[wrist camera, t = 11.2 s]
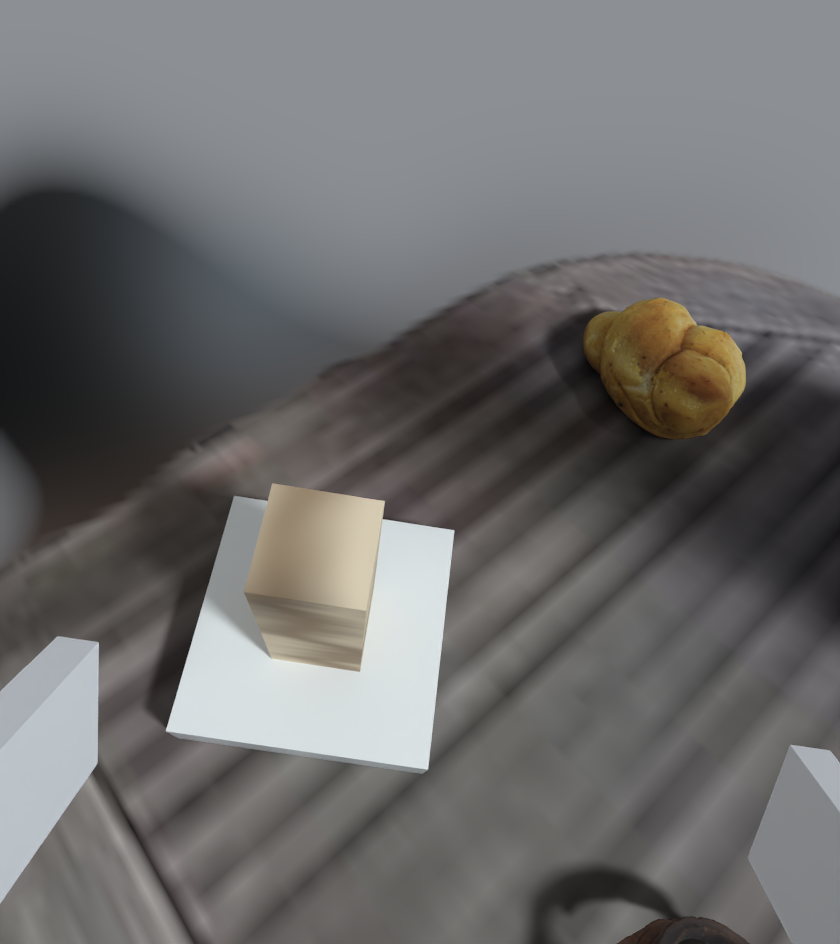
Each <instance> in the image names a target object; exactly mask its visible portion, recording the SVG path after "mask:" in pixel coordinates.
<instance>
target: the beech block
mask: <svg viewBox="0 0 840 944" xmlns="http://www.w3.org/2000/svg"><path fill="white" fill-rule="evenodd" d="M384 504H385V501H380V500H374V499H368V498H361V497H355V496H349V495H342V494H336V493H330V492H323V491H317V490H311V489H304V488H298V487H292V486H286V485H279V484H273V483H272V487H271V491H270V494H269V498H268V502H267V506H266V510H265V513H264V517H263V521H262V525H261V529H260V532H259V536H258V540H257V544H256V548H255V551H254V555H253V559H252V563H251V567H250V570H249V574H248V578H247V582H246V586H245V589H244V594H245V596H246V598H247V601H248V603H249V606H250V608H251V610H252V613H253V615H254V617H255V620H256V622H257V625H258V627H259V629H260V632H261V634H262V637H263V639H264V641H265V644H266V646H267V648H268V651H269V653H270V656H271V658H272V659H278V660H284V661H291V662H297V663H304V664H311V665H317V666H324V667H331V668H337V669H344V670H350V671H357V672H360V669H361V663H362V657H363V651H364V645H365V639H366V633H367V627H368V621H369V615H370V609H371V602H372V596H373V590H374V583H375V575H376V568H377V560H378V552H379V544H380V536H381V528H382V520H383V512H384Z"/></svg>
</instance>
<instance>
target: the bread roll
mask: <svg viewBox="0 0 840 944" xmlns="http://www.w3.org/2000/svg"><path fill="white" fill-rule="evenodd" d="M583 350H584V353H585V356H586V358H587V360H588V362H589V364H590V365H591V366H592V368H593V369H594V370H596V371H597V372H598V373H599V374H600V375H601V380H602V383H603V385H604V386H605V388H606V390H607V392H608V394H609V396H610V398H611V399H612V400H613V401H614V402H615V404H616V405H617V406H618V407H619V409H620V410H621V411H622V412H624V413H625V414H626V416H627V417H628V418H629V419H630V420H631V421H633V422H634V423H635V424H637V425H638V426H640V427H641V428H643V429H644V430H646V431H648V432H650V433H651V434H653V435H655V436H657V437H660V438H668V439H688V438H692V437H696V436H704V435H705V434H707V433H708V432H709V431H710V430H711V429H713V428H714V427H715V426H716V425H717V424H719V423H720V422H721V420H722V419H723V418H724V417H725V416H726V415H727V414H728V412H729V410H730V409H731V408H732V407H733V406H734V403H735V402H736V401H737V400H738V398H739V397H740V396H741V394H742V392H743V391H744V388H745V384H746V371H745V364H744V361H743V359H742V357H741V356H742V352H741V351H740V349H739V348H738V347H737V346H736V344H735V342H734V341H733V340H732V339H731V337H730V336H729V334H727V333H724V332H722V331H720V330H716V329H712V328H708V327H705V326H697V325H696V323H695V321H694V320H693V319H692V318H691V316H690V314H689V313H688V311H687V310H686V309H685V307H684V306H682V305H680V304H678V303H676V302H674V301H670V300H667V299H664V298H655V299H650V300H643V301H639V302H637V303H635V304H633V305H631V306H629V307H627V308H626V309H625V310H624V311H623V312H612V311H610V312H604V313H601V314H598V315H597V316H595V317H593V318H592V319H591V320H590V322H589V323H588V325H587V326H586V328H585V331H584V337H583Z"/></svg>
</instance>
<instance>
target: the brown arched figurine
mask: <svg viewBox="0 0 840 944" xmlns="http://www.w3.org/2000/svg"><path fill="white" fill-rule="evenodd" d="M686 939H697V940H701V941H704V942H707V943H708V944H749V943H748V942H747V941H746V940H745V939H744V938H742V937H741V936H740V935H738V934H736V933H735V932H734V931H732V930H731V929H729V928H728V927H726V926H725V925H723V924H721V923H719V922H716V921H714V920H711V919H707V918H702V917H699V918H696V917H683V918H680V919H673V918H672V919H669V920H664V919H657V920H655V921H653V922H651V923H650V924H648V925H646V926H645V927H644V928H643V929H641V930H639V931H637V932H636V933H634V934H633V935H631V936H628V937H626V938H624V939H623V940H622V941H620V942H619V943H618V944H679V943H680V942H681V941H683V940H686Z"/></svg>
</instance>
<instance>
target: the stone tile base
mask: <svg viewBox="0 0 840 944" xmlns="http://www.w3.org/2000/svg"><path fill="white" fill-rule="evenodd" d="M267 502H268V501H264V500H257V499H251V498H245V497H238V496H234V498H233V502H232V505H231V509H230V512H229V516H228V519H227V523H226V526H225V529H224V533H223V536H222V540H221V543H220V547H219V550H218V554H217V557H216V560H215V564H214V567H213V571H212V574H211V578H210V581H209V584H208V588H207V591H206V595H205V598H204V602H203V605H202V609H201V612H200V615H199V619H198V622H197V626H196V629H195V633H194V636H193V639H192V643H191V646H190V650H189V653H188V657H187V660H186V664H185V667H184V670H183V674H182V677H181V681H180V684H179V688H178V691H177V694H176V698H175V701H174V705H173V708H172V712H171V715H170V719H169V722H168V725H167V729H166V732H168V733H170V734H172V735H174V736H175V737H177V738H181V739H188V740H195V741H202V742H209V743H215V744H222V745H229V746H236V747H243V748H250V749H256V750H263V751H270V752H277V753H284V754H290V755H297V756H304V757H311V758H318V759H325V760H331V761H338V762H345V763H352V764H359V765H366V766H372V767H379V768H386V769H393V770H400V771H407V772H413V773H420V774H423V773H424V772H425V771H427V770H428V764H429V755H430V746H431V737H432V728H433V719H434V710H435V701H436V692H437V683H438V674H439V664H440V655H441V646H442V637H443V628H444V619H445V610H446V601H447V592H448V583H449V574H450V565H451V555H452V546H453V537H454V530H448V529H442V528H436V527H429V526H423V525H416V524H410V523H404V522H397V521H391V520H385V519H383V520H382V528H381V536H380V544H379V552H378V560H377V568H376V575H375V583H374V590H373V596H372V602H371V609H370V615H369V621H368V627H367V633H366V639H365V645H364V651H363V657H362V663H361V669H360V672H357V671H350V670H344V669H337V668H331V667H324V666H317V665H311V664H304V663H297V662H291V661H284V660H278V659H272V658H271V656H270V653H269V651H268V648H267V646H266V644H265V641H264V639H263V637H262V634H261V632H260V629H259V627H258V625H257V622H256V620H255V617H254V615H253V613H252V610H251V608H250V606H249V603H248V601H247V598H246V596H245V594H244V589H245V586H246V582H247V578H248V574H249V570H250V567H251V563H252V559H253V555H254V551H255V548H256V544H257V540H258V536H259V532H260V529H261V525H262V521H263V517H264V513H265V510H266V506H267Z"/></svg>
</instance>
